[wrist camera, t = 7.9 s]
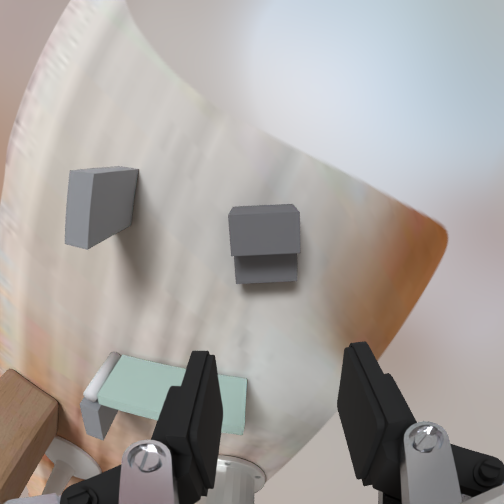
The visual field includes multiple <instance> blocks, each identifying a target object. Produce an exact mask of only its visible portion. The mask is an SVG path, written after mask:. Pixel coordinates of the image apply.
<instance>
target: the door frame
mask: <svg viewBox="0 0 504 504" xmlns="http://www.w3.org/2000/svg"><path fill="white" fill-rule="evenodd" d="M138 170H139V169H134V168H127V167H120V166H117V167H103V168H91V169H80V170H70V174H69V184H68V194H67V207H66V224H65V244H67V245H71V246H75V247H79V248H83V249H87V250H88V249H89V248H91V247H93V246H95V245H96V244H98V243H100V242H102V241H104V240H105V239H107V238H109V237H111V236H112V235H114V234H116V233H118V232H120V231H122V230H123V229H125V228H127V227H129V226H131V221H132V212H133V204H134V197H135V189H136V183H137V176H138ZM80 408H81V412H82V417H83V421H84V425H85V429H86V433H87V434H88V435H90V436H93V437H95V438H98V439H101V440H104V438H105V436H106V434H107V432H108V430H109V428H110V426H111V424H112V422H113V420H114V418H115V416H116V414H117V412H118V410H117V409H114V408H110V407H107V406H104V405H101V404H99V402H98V398H97V400H96V402H90V401H88V400H87V399H86V398H85V397H84V398H83V400H82V401H81V403H80Z"/></svg>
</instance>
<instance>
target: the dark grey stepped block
mask: <svg viewBox="0 0 504 504" xmlns="http://www.w3.org/2000/svg"><path fill="white" fill-rule="evenodd" d="M228 218H229V232H230V246H231V256H234V262H235V275H236V284H244V283H267V282H287V281H297V253H300V212H299V211H298V210H297V208H296V207H295V206H294V205H293V204H282V205H259V206H240V207H233V208H232V210H231V211H230V213H229V215H228Z"/></svg>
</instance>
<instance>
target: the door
mask: <svg viewBox="0 0 504 504" xmlns="http://www.w3.org/2000/svg"><path fill="white" fill-rule="evenodd" d="M185 372H186V369H184V368H179V367H174V366H169V365H165V364H160V363H155V362H151V361H147V360H142V359H138V358H134V357H130V356H126V355H122V356H120V355H119V354H118V353H117V352H111V353H110V355H109V356H108V357H107V359H106V360H105V362H104V363H103V365H102V366H101V368H100V369H99V371H98V372H97V373H96V375H95V376H94V378H93V379H92V381H91V382H90V384H89V385H88V387H87V388H86V390H85V391H84V393H83V394H84V397H85V398H86V399H87V400H88V401H90V402H96V400H97V398H98V402H99V404H101V405H104V406H107V407H110V408H114V409H117V410H120V411H124V412H127V413H131V414H135V415H138V416H142V417H146V418H150V419H154V420H158V418H159V415H160V412H161V410H162V407H163V404H164V401H165V398H166V396H167V393H168V390H169V388H170V387H171V386H181V384H182V381H183V378H184V375H185ZM218 380H219V386H220V393H221V399H222V405H223V422H222V429H221V432H222V433H229V434H237V435H243V431H244V426H245V407H246V388H247V379H246V378H239V377H232V376H225V375H218Z"/></svg>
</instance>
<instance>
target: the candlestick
mask: <svg viewBox="0 0 504 504" xmlns="http://www.w3.org/2000/svg"><path fill="white" fill-rule="evenodd" d="M45 454H46V455H47V457H48V458H49V459H50V460H51V461H52V462H53V463H54V464H55V465H54V468H53V470H52V472H51V475H50V477H49V479H48V481H47V484H46V486H45V488H44V490H43V493H42V495H46V494H52V493H56V494H57V495H61V494H62V492H63V490H64V488H65V487H66V485H67V483H68V482H69V480H70V478H71V477H72V476H75V477H78V478H81V479H89V478H91V477H93V476H96V475H98V474H101V473H102V472H101V468H100V466H99V465H98V464H97V462H96V461H95V460H94V459H93V458H92V457H91V456H90V455H89V454H87V453H86V452H85V451H83V450H82V449H81V448H79V447H78V446H76V445H75V444H73V443H71V442H70V441H68V440H66V439H64V438H62V437H59V436H55V437H54V439H53V440H52V442H51V444H50V445H49V447H48V449H47V450H46V452H45Z"/></svg>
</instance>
